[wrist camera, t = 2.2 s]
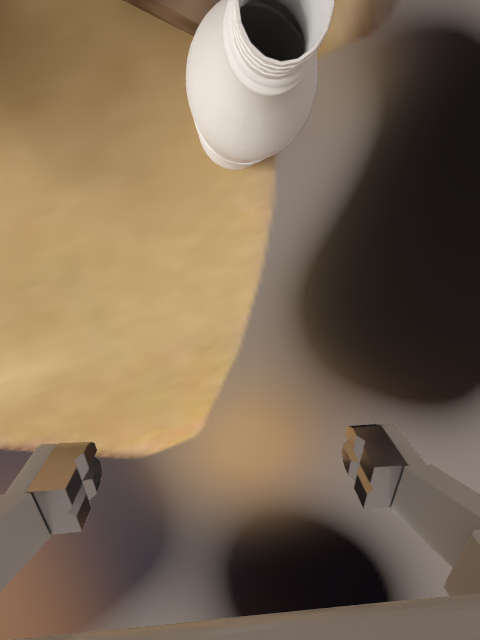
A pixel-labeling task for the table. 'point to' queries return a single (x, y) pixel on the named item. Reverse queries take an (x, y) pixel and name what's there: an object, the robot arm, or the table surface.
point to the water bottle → (254, 76)
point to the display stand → (177, 11)
